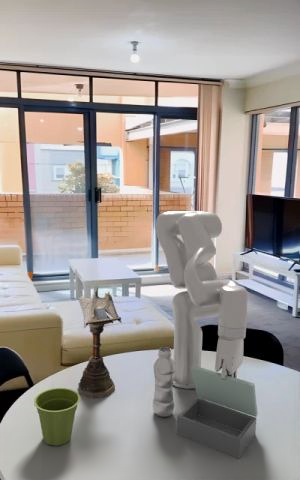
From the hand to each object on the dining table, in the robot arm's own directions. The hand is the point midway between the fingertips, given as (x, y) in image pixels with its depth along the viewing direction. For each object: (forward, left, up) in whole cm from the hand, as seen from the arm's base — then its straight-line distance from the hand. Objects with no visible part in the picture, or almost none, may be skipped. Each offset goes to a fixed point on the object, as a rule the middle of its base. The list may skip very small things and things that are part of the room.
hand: (229, 392), depth 118 cm
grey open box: (-1, -6, -10) cm, 12 cm away
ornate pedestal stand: (-41, -7, -10) cm, 42 cm away
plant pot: (-35, -32, -10) cm, 48 cm away
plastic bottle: (-18, -6, -10) cm, 21 cm away
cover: (-1, -3, +1) cm, 3 cm away
